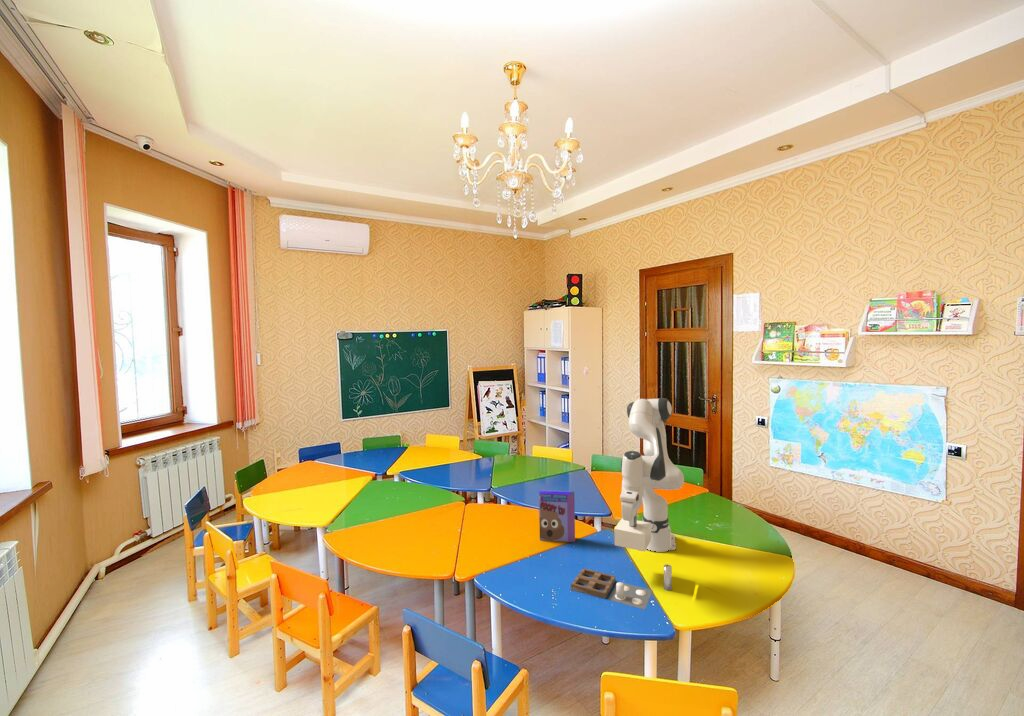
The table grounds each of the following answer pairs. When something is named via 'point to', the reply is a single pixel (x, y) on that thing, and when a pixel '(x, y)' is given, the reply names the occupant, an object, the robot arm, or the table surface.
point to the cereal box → (557, 516)
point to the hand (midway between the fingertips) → (633, 523)
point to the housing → (633, 534)
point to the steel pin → (668, 577)
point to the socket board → (593, 583)
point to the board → (631, 595)
